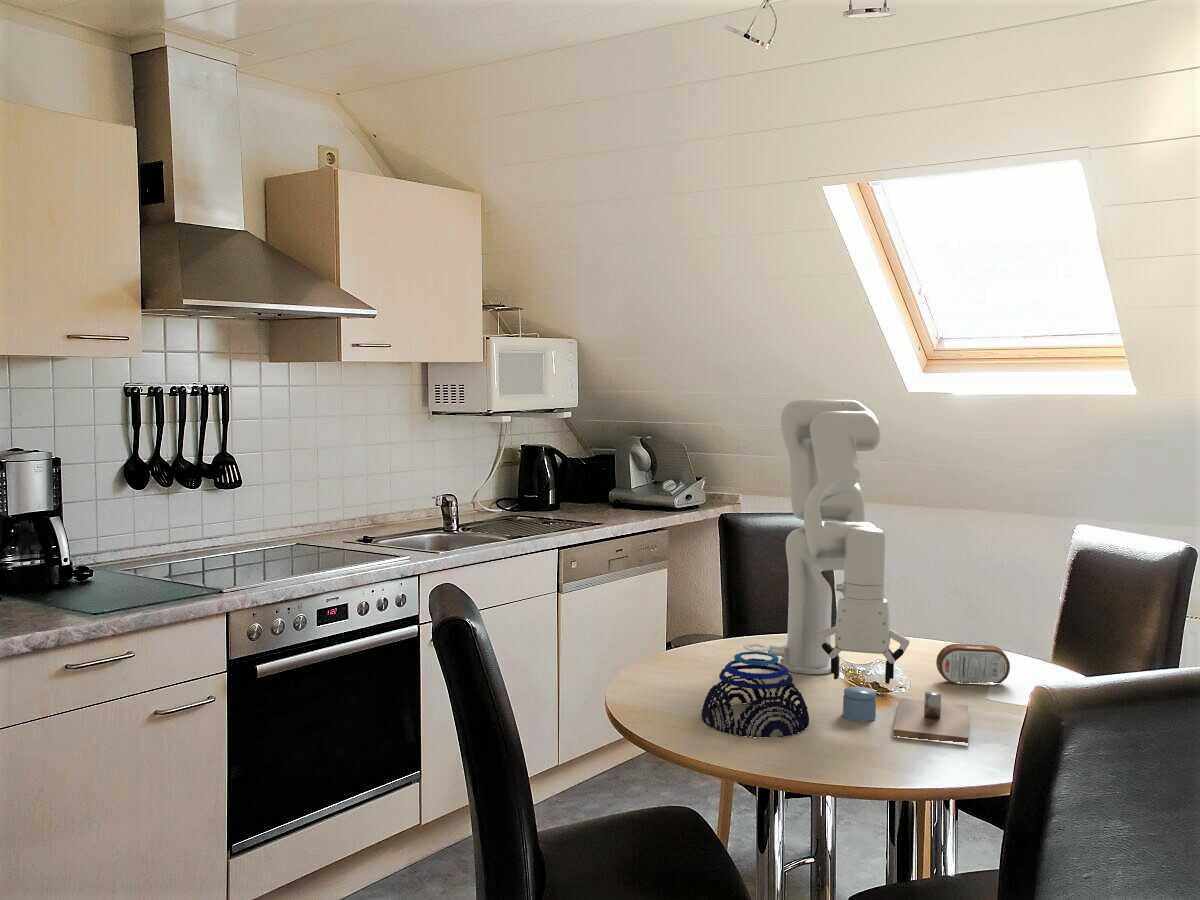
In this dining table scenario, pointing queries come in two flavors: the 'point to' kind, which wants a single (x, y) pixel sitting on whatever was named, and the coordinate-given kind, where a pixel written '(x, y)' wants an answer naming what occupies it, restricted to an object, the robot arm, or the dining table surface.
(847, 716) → the cap
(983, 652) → the tin
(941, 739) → the post base
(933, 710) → the post
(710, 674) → the dining table surface
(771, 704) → the decorative bowl
